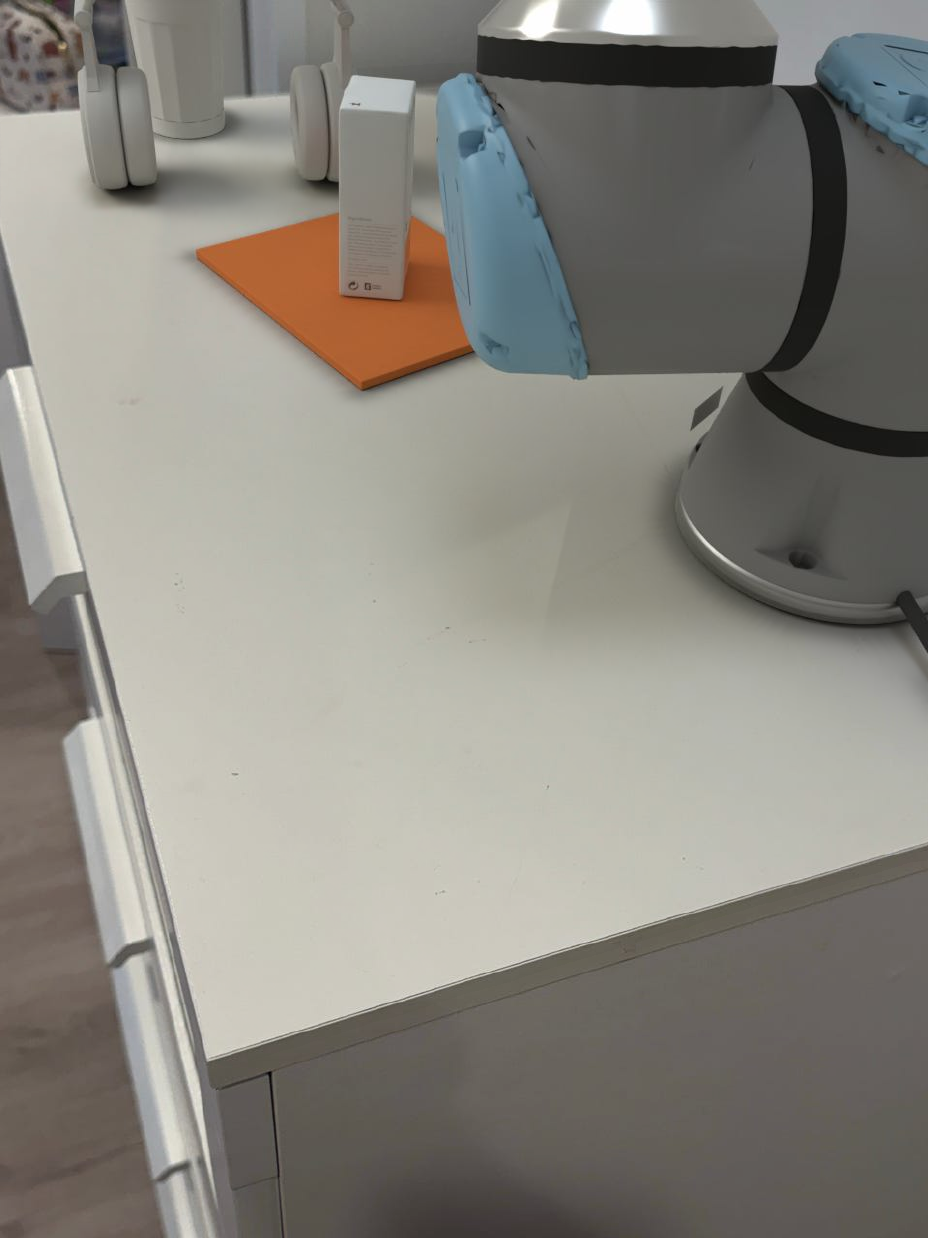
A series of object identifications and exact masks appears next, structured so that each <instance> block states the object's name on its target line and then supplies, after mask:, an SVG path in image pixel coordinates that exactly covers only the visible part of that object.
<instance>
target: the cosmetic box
mask: <svg viewBox="0 0 928 1238" xmlns="http://www.w3.org/2000/svg"><path fill="white" fill-rule="evenodd" d="M416 89H417V82H416V80H410V79H400V78H398V79H397V78H388V77H378V76H366V75H359V74H357V75H353V76H352V77H351V79H350V81H349V84H348V87H347V88H346V90H345V92H344V97H343V100H342V103H341V106H340V109H339V182H338V213H339V292H340V294H341V295H344V296H355V297H368V298H381V299H392V300H401V299H402V298H403V290H404V283H405V277H406V273H407V268H408V264H409V258H410V235H411V215H412V204H413V181H414V180H413V178H414V154H415V153H414V149H415V127H416V126H415V125H416V124H415V122H416V121H415V120H416V94H417V91H416Z"/></svg>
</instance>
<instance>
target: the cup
mask: <svg viewBox="0 0 928 1238" xmlns="http://www.w3.org/2000/svg"><path fill="white" fill-rule="evenodd" d="M124 3H125V9H126V13H127V18H128V25H129V29H130V34H131V39H132V45H133V49H134V54H135V60H136V65H137V66H136V67H137V68H140V69H141V70H142V71H143V72H144V73H145V76H146V79H147V85H148V93H149V101H150V109H151V118H152V127H153V133H154V134H157V135H159V136H163V137H167V138H172V139H181V140H182V139H183V140H185V139H186V140H189V139H191V140H192V139H202V138H207V137H210V136H214V135H216V134H218V133H220V132H222V131H223V130H224V129H225V127H226V114H225V68H224V67H225V65H224V64H225V60H224V59H225V55H224V54H225V52H224V51H225V49H224V48H225V47H224V46H225V44H224V43H225V38H224V37H225V34H224V33H225V31H224V30H225V27H224V23H225V22H224V19H225V18H224V17H225V16H224V14H225V0H124Z"/></svg>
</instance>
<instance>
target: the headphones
mask: <svg viewBox="0 0 928 1238" xmlns="http://www.w3.org/2000/svg"><path fill="white" fill-rule="evenodd" d="M329 1H330V8H331V10H332V13H333V15H334V35H333V58H332V61H328V62H324V63H323V64H321V65H320V68H319V67H318V66H317V65H315V64H305V65H304V64H302V65H298V66H296V67H294V69H293V70H292V71H291V75H290V82H289V83H290V84H289V113H290V115H289V116H290V129H291V140H292V150H293V156H294V161H295V167H296V170H297V172H298V175H299V176H300V178H301V179H302V180H306V181H321V180H324V179H325V178H327V180H328V181H330V182H335V183H339V109H340V106H341V103H342V100H343V97H344V92H345V90H346V88H347V87H348V84H349V81H350V79H351V77H352V76H353V75H358V72H357V70H356V69H355V68H354V67H353V66H352V62H351V60H352V59H351V39H350V38H351V37H350V35H351V34H350V28H351V27H352V26H353V25H354V23H355V16H354V14H353V12H352V9H351V8H350V6H349V3H348V1H347V0H329ZM95 2H96V0H74V7H73V8H74V10H73V21H74V24H75V25H76V27H77V28H79V29H80V34H81V42H82V51H83V59H84V60H83V61H84V65H83V66H82V68H81V69H80V70H78V72H77V89H78V103H79V115H80V121H81V122H80V123H81V129H82V136H83V142H84V148H85V149H84V150H85V154H86V160H87V165H88V166H87V167H88V171H89V176H90V179H91V182H92V183H93V184H94V185H96V186H97V187H98V188H99V189H103V190H119V189H123V188H126V187H127V186H128V184H129V183H131V185H132V186H137V187H139V186H140V187H141V186H149V185H153V184H154V183H156V181H157V177H158V166H157V155H156V147H155V146H156V145H155V137H154V136H155V135H154V132H153V127H152V118H151V109H150V101H149V93H148V85H147V79H146V76H145V73H144V72H143V71H142V70H141V69H140V68H138V67H137V66H136V67H135V66H120V67H118V68H117V70H116V72H115V69H114V68H113V66H112V65H109V64H105V63H104V64H103V63H99V59H98V55H97V48H96V43H95V38H94V32H93V26H92V25H93V21H94V20H93V18H94V17H93V15H94V13H93V12H94V11H93V10H94V4H95Z"/></svg>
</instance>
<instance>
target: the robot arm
mask: <svg viewBox="0 0 928 1238" xmlns="http://www.w3.org/2000/svg"><path fill="white" fill-rule="evenodd" d="M779 38H780V34H779V33H778V31H777V30H776V29H775V28H774V26H773V25H772V24H771V22H770V21H769V20H768V18H767V17H766V15H765V14H764V13H763V11H762V10H761V9H760V7H759V6H758V5H757V3H756V2H755V0H500V1H498V3H497V4H496V5H495V6H494V7H493V8H492V9H490V11H489V12H488V14H487V15H486V16H485V17H484V18H483V19H481V21H480V22H479V23H478V24H477V41H476V43H477V44H476V71H475V74H473V73H470V72H469V73H467V72H460V73H459V74H458V75H457V76H456V77H454V78H450V79H448V80H446V81H444V82H443V83H442V84H441V85H440V87H439V89H438V93H437V97H436V102H435V107H436V108H435V114H436V133H437V137H436V164H437V174H438V177H437V178H438V187H439V195H440V196H439V197H440V198H439V199H440V206H441V214H442V215H441V216H442V222H443V230H444V236H445V237H446V244H447V252H448V257H449V263H450V269H451V275H452V280H453V286H454V291H455V296H456V301H457V305H458V309H459V313H460V317H461V320H462V324H463V327H464V330H465V333H466V336H467V338H468V340H469V342H470V345H471V346H472V348H473V350H474V351H473V352H474V353H475V354H476V355H477V356H478V357H479V359H480V360H481V361H482V362H484V363H485V364H486V365H488V366H489V367H491V369H494V370H496V371H499V372H503V373H507V374H523V375H547V376H548V375H553V376H569V377H570V378H571V379H572V380H576V381H584V380H587V378H588V376H626V375H628V376H629V375H631V376H632V375H635V376H636V375H685V374H686V375H687V374H688V375H689V374H690V375H691V374H738V373H739V374H740V373H741V376H740V377H739V379H738V381H737V382H736V383H735V386H734V387H733V388H732V390H731V392H730V393H729V395H728V397H727V398H726V400H725V402H724V403H723V405H722V407H721V409H720V411H719V412H718V414H717V416H716V417H715V419H714V421H713V423H712V424H711V426H710V428H709V429H708V430H707V431H706V432H705V433H703V435H701V437H700V438H699V439H698V441H697V442H696V444H695V445H694V446H693V448H692V449H691V451H690V452H689V455H688V456H687V459H686V461H685V464H684V466H683V468H682V469H681V474H680V478H679V481H678V487H677V491H676V494H675V501H674V511H675V512H674V514H675V518H676V519H675V520H676V524H677V527H678V529H679V532H680V534H681V536H682V537H683V539H684V541H685V543H686V544H687V546H688V547H689V549H690V550H691V551H692V552H693V554H694V555H695V556H696V557H697V559H698V560H699V561H700V562H701V563H703V564H704V565H705V567H706V568H707V569H709V570H710V571H711V572H712V573H713V574H715V575H716V576H717V577H719V578H720V579H721V580H723V581H724V582H725V583H726V584H728V585H730V586H731V587H733V588H734V589H737V591H739V592H741V593H743V594H745V595H747V596H749V597H751V598H753V599H754V600H756V601H758V602H761V603H764V604H766V605H768V606H771V607H774V608H776V609H779V610H781V611H784V612H787V613H791V614H794V615H797V616H801V617H805V618H809V619H814V620H819V621H824V622H830V623H838V624H839V623H840V624H850V625H854V624H855V625H879V624H889V623H897V622H900V621H905V620H906V621H908V623H909V625H910V627H911V628H912V630H913V632H914V633H915V635H916V637H917V639H918V640H919V642H920V643H921V645H922V647H923V648H924V650H925V652H926V653H927V654H928V618H927V617H926V615H925V614H927V613H928V40H924V39H918V38H914V37H908V36H903V35H895V34H888V33H880V32H879V33H877V32H857V33H854V34H852V35H850V36H848V35H843V36H840V37H837V38H836V39H834V40H832V41H831V43H829V45H828V46H827V47H826V49H825V51H824V53H823V55H822V56H821V58H820V59H819V60H818V61H816V64H815V68H814V77H815V81H816V82H815V83H812V84H804V85H801V84H800V85H799V84H794V85H793V84H792V85H790V84H774V83H773V82H774V75H775V67H776V61H777V54H778V45H779ZM723 390H724V385H722V386H721V387H719V388H718V390H716V391H715V392H714V393H713V394H711V395H710V396H709V397H707V398H706V400H704V401H703V402H702V403H700V404H699V405H698V406H697V407H696V408H694V412H693V416H692V421H691V426H690V430H689V431H690V432H691V431H693V430H694V429H695V428H696V427H697V426H698V425H700V424H701V423H702V422H703V421H704V420H706V419H707V418H708V417H709V416H710V415H712V414H713V413H714V412H715V411H716V410H717V409H718V408H719V406H720V403H721V398H722V394H723Z"/></svg>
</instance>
